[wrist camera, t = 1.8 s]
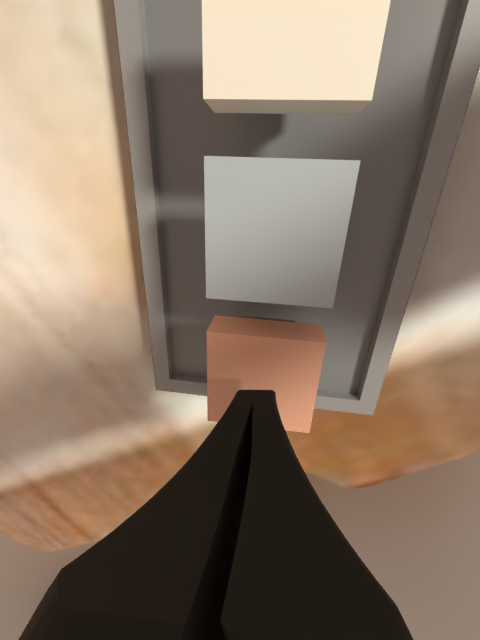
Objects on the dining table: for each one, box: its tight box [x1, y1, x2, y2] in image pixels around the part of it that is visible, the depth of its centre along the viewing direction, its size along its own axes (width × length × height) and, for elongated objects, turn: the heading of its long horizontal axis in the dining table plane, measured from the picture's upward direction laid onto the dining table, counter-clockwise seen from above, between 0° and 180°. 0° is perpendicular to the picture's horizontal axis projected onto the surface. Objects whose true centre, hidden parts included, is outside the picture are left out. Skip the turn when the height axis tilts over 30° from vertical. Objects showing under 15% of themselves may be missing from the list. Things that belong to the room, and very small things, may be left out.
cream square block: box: [202, 0, 391, 115], centre depth 9 cm, size 5×5×4 cm
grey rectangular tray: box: [114, 0, 480, 415], centre depth 14 cm, size 14×22×2 cm, turn 178°
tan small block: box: [207, 315, 326, 433], centre depth 14 cm, size 5×5×4 cm
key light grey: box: [204, 156, 361, 308], centre depth 11 cm, size 5×5×4 cm
